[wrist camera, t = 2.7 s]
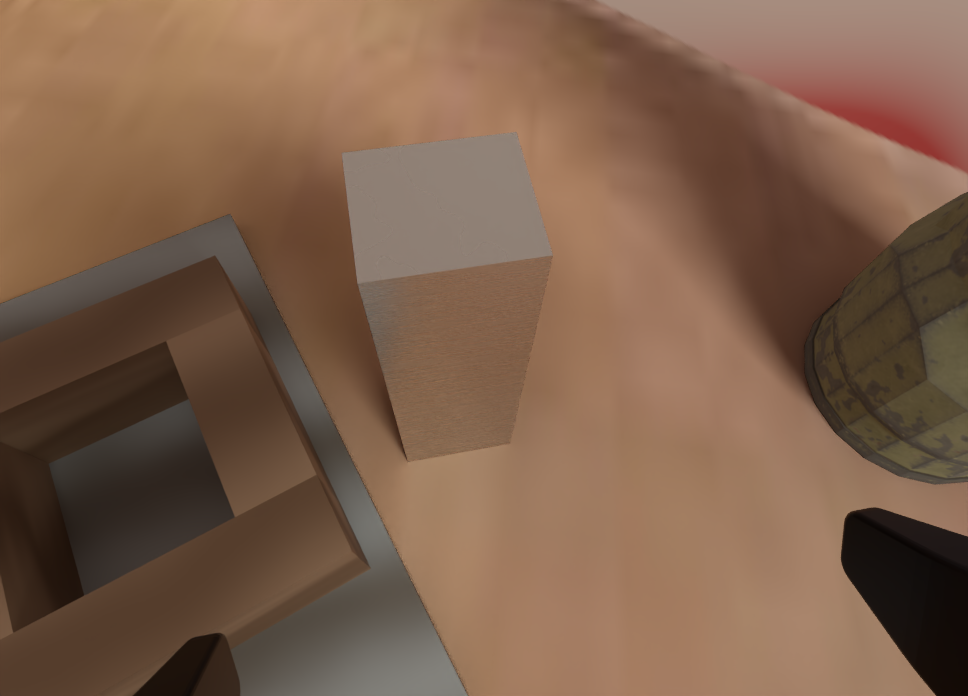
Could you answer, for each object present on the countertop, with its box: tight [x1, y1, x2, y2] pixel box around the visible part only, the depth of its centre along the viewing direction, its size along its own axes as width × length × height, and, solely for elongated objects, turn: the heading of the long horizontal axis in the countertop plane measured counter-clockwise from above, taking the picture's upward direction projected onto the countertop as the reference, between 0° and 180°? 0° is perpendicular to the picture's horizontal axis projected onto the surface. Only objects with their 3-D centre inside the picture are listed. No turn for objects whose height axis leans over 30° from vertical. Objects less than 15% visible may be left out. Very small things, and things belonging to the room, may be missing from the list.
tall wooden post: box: [342, 132, 553, 461], centre depth 19 cm, size 4×4×12 cm
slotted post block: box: [0, 214, 468, 696], centre depth 20 cm, size 22×13×5 cm, turn 30°
